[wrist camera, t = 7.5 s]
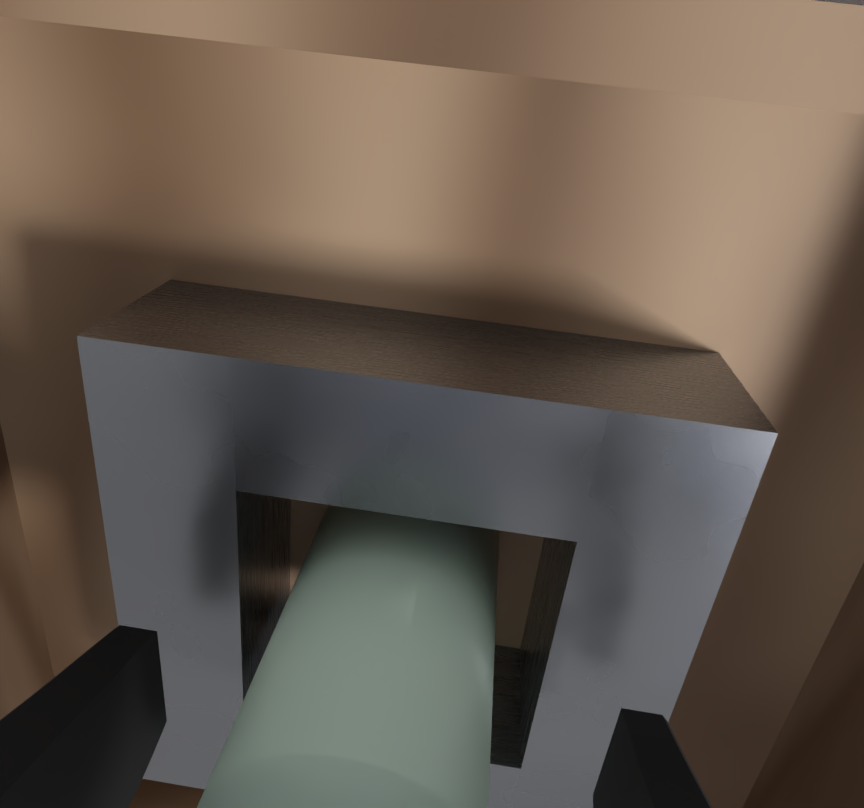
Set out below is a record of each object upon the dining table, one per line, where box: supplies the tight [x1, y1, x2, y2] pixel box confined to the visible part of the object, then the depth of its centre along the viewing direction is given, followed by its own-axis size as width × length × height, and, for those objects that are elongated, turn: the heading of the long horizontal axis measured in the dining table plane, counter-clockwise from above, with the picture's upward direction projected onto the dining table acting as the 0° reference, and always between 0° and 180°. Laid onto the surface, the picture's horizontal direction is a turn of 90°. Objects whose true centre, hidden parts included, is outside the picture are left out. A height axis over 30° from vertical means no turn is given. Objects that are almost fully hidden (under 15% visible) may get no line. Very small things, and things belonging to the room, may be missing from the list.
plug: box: [197, 505, 499, 808], centre depth 12 cm, size 4×4×6 cm
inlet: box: [77, 280, 778, 808], centre depth 13 cm, size 10×10×3 cm
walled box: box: [0, 0, 864, 808], centre depth 13 cm, size 20×20×4 cm
